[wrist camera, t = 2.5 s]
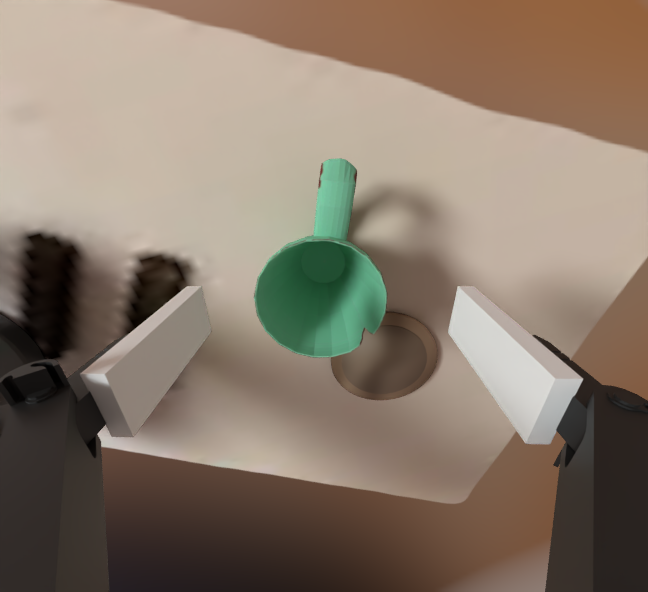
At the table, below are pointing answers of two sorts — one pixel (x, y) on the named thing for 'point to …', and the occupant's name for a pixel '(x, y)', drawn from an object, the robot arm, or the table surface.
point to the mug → (323, 279)
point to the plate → (388, 360)
